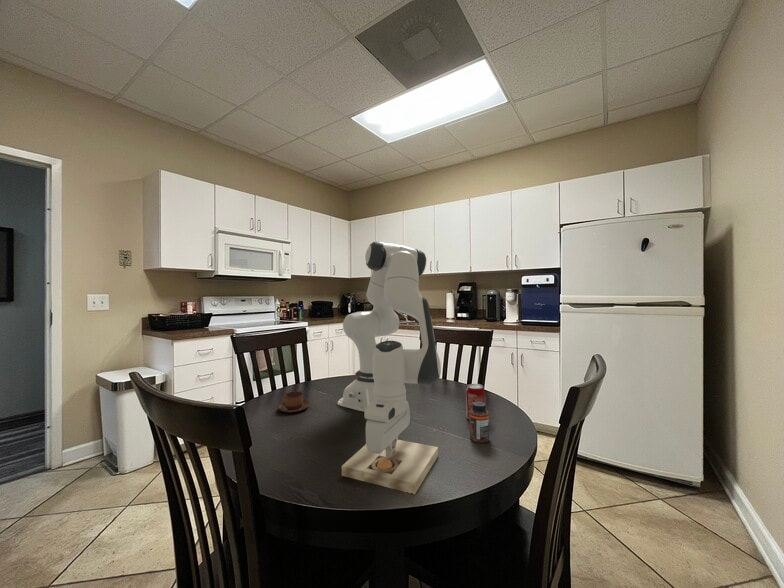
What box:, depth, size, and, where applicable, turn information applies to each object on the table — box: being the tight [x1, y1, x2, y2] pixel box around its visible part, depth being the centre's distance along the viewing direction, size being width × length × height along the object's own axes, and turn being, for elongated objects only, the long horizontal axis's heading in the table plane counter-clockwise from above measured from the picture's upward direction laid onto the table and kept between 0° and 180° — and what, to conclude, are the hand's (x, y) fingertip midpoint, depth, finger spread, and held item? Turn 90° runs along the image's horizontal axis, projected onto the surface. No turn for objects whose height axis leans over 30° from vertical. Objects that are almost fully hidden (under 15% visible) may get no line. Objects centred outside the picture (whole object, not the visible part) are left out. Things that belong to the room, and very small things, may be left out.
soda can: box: [465, 383, 486, 420], centre depth 119 cm, size 7×7×12 cm
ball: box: [377, 458, 392, 470], centre depth 84 cm, size 4×4×4 cm
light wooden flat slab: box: [341, 439, 439, 495], centre depth 89 cm, size 20×19×2 cm
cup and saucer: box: [278, 391, 310, 413], centre depth 133 cm, size 12×12×6 cm
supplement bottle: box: [469, 402, 490, 444], centre depth 103 cm, size 6×6×11 cm
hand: (390, 454), depth 88 cm, fingers closed
